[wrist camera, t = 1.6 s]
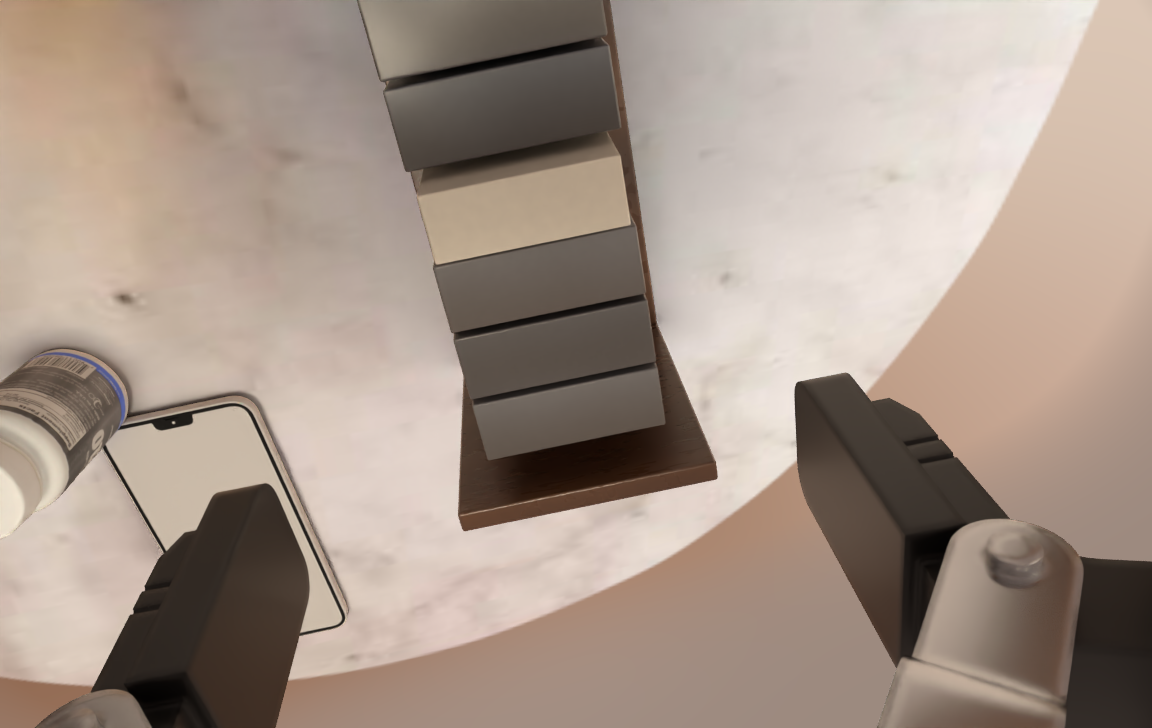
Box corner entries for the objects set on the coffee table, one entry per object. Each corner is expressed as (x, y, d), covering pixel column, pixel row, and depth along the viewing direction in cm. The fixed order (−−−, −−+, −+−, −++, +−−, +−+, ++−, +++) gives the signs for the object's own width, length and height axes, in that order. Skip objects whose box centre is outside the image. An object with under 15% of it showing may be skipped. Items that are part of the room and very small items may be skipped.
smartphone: (219, 653, 45) (89, 430, 38) (223, 644, 46) (95, 422, 38) (352, 625, 45) (248, 397, 38) (354, 616, 46) (252, 389, 38)
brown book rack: (350, -55, 30) (280, -37, 20) (591, -104, 30) (649, -113, 20) (468, 366, 39) (462, 532, 29) (655, 327, 39) (718, 480, 29)
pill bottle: (84, 456, 39) (-22, 573, 31) (-2, 386, 37) (-137, 492, 30) (154, 400, 38) (62, 507, 30) (68, 325, 36) (-52, 419, 29)
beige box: (437, 104, 32) (415, 196, 22) (575, 75, 32) (620, 154, 22) (450, 154, 33) (435, 265, 23) (584, 126, 33) (631, 225, 23)
